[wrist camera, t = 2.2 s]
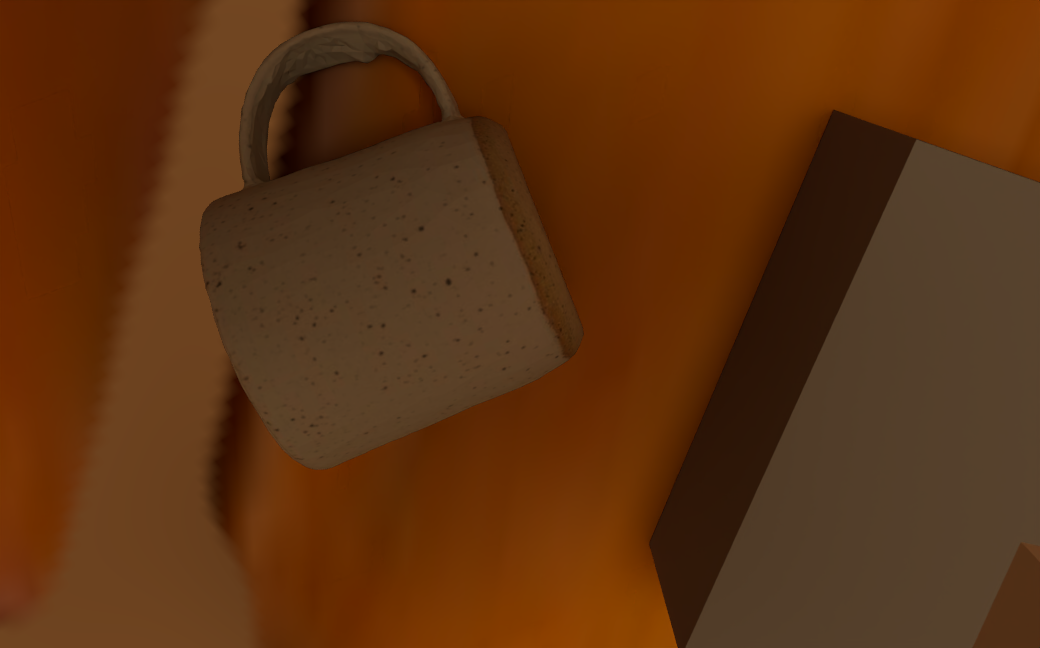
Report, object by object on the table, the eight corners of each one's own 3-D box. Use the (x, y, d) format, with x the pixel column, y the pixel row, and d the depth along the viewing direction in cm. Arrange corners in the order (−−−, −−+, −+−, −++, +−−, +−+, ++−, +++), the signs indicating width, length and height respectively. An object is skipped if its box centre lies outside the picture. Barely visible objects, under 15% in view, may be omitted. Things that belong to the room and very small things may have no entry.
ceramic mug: (587, 310, 31) (614, 404, 23) (345, 406, 32) (298, 527, 24) (448, -28, 28) (429, -41, 20) (185, 88, 28) (75, 115, 21)
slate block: (649, 543, 33) (680, 657, 28) (833, 110, 29) (916, 139, 23) (1046, 658, 35) (1153, 787, 29) (1277, 266, 31) (1455, 329, 25)
